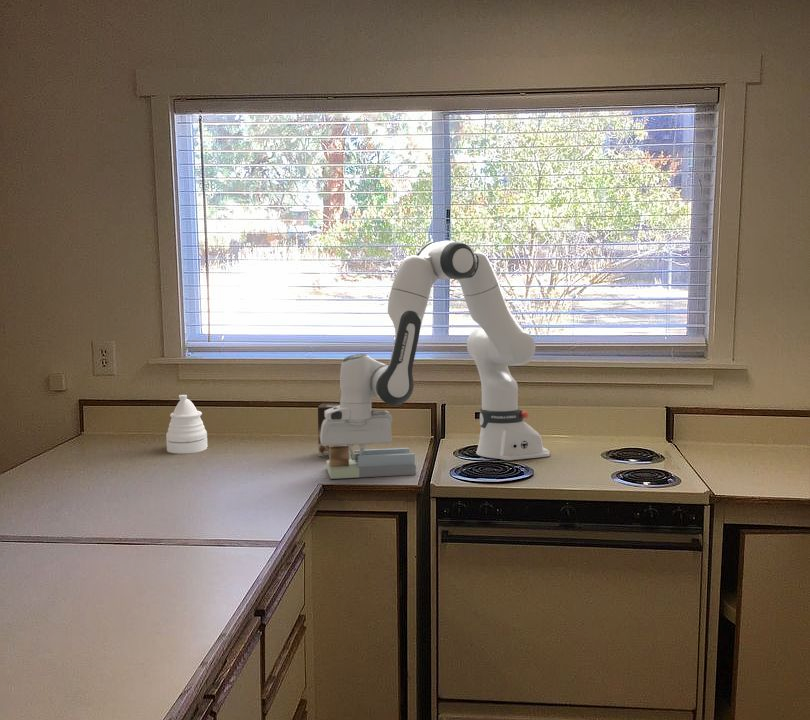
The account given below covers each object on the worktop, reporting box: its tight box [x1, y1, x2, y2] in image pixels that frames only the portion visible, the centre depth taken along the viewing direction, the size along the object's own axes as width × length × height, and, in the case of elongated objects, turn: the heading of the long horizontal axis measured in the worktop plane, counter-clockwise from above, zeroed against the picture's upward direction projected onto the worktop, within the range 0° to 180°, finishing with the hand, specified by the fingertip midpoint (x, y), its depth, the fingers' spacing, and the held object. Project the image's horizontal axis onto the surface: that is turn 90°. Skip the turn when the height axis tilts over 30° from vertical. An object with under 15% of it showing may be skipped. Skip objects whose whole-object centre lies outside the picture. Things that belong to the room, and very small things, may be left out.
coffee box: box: [317, 403, 349, 457], centre depth 245 cm, size 9×6×16 cm
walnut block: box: [328, 445, 350, 467], centre depth 223 cm, size 5×5×5 cm
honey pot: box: [165, 394, 209, 455], centre depth 256 cm, size 13×13×18 cm
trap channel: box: [325, 447, 417, 480], centre depth 225 cm, size 24×12×6 cm, turn 101°
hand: (356, 459), depth 224 cm, fingers closed
